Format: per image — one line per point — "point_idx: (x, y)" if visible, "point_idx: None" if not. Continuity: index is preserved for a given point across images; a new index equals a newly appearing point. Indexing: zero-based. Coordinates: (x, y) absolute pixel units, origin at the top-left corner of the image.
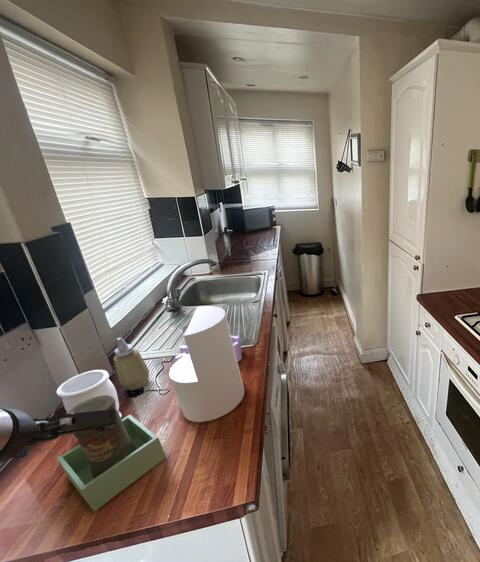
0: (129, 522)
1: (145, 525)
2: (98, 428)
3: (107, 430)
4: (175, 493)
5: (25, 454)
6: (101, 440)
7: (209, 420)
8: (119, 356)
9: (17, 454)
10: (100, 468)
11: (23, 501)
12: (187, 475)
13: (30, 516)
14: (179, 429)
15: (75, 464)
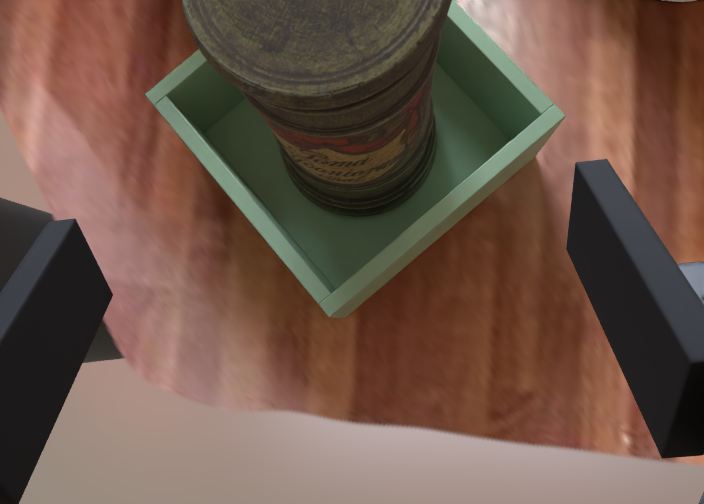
0: (486, 411)
1: (549, 446)
2: (690, 448)
3: (586, 292)
4: None
5: (105, 297)
6: (376, 141)
7: (682, 1)
8: None
9: (78, 347)
10: (337, 191)
11: (83, 185)
12: None
13: (136, 258)
14: (549, 13)
15: (207, 107)
